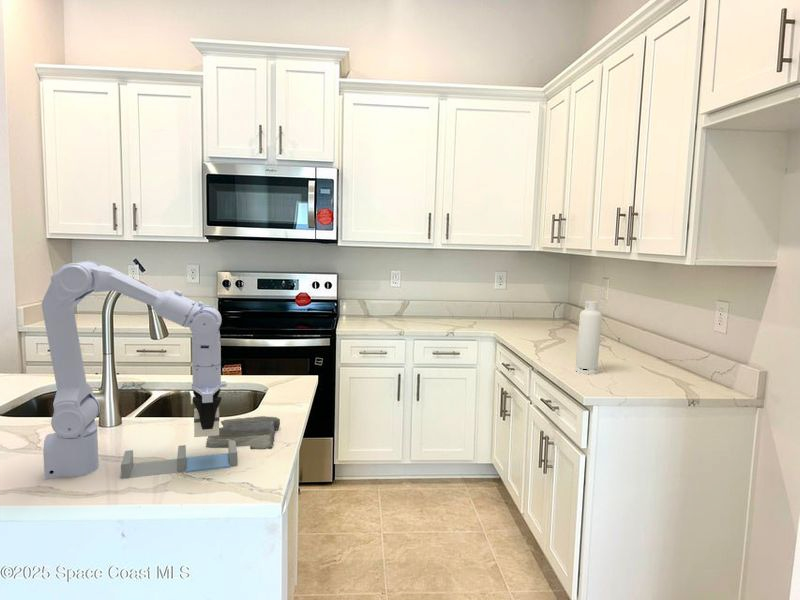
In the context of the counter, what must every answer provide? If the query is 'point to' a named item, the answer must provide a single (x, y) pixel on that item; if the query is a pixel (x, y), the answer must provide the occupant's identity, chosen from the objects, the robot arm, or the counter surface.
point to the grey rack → (178, 463)
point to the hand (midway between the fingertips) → (207, 424)
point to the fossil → (246, 432)
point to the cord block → (207, 432)
